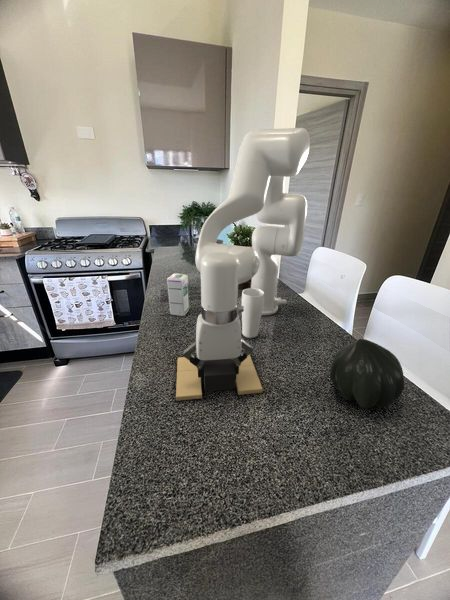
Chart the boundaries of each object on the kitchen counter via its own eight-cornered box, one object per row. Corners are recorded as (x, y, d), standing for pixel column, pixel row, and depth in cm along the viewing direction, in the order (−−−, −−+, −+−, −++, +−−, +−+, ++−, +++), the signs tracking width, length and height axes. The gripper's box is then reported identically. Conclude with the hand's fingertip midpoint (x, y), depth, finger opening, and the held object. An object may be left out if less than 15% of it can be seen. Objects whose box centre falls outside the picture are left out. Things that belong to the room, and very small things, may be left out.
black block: (230, 368, 64) (230, 354, 62) (234, 388, 58) (235, 373, 56) (202, 370, 63) (202, 356, 62) (204, 391, 57) (204, 376, 55)
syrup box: (184, 316, 92) (182, 279, 86) (169, 314, 93) (166, 277, 87) (189, 309, 97) (188, 274, 91) (175, 307, 98) (172, 272, 92)
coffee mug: (231, 287, 118) (232, 267, 114) (237, 281, 125) (238, 262, 121) (255, 291, 114) (257, 270, 110) (260, 285, 121) (262, 265, 117)
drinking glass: (246, 342, 78) (249, 298, 71) (235, 331, 83) (237, 290, 77) (264, 336, 81) (269, 294, 74) (252, 327, 86) (256, 286, 80)
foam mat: (248, 355, 72) (249, 352, 71) (262, 392, 59) (262, 388, 59) (177, 361, 69) (177, 357, 68) (176, 400, 56) (176, 396, 56)
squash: (432, 401, 51) (404, 329, 54) (372, 420, 47) (346, 341, 51) (378, 396, 64) (358, 338, 68) (328, 410, 60) (310, 349, 64)
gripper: (254, 302, 58) (249, 364, 65) (177, 306, 55) (181, 369, 63) (263, 318, 51) (257, 385, 58) (176, 323, 48) (181, 392, 56)
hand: (218, 376), depth 60 cm, fingers closed on black block, 7 cm apart
